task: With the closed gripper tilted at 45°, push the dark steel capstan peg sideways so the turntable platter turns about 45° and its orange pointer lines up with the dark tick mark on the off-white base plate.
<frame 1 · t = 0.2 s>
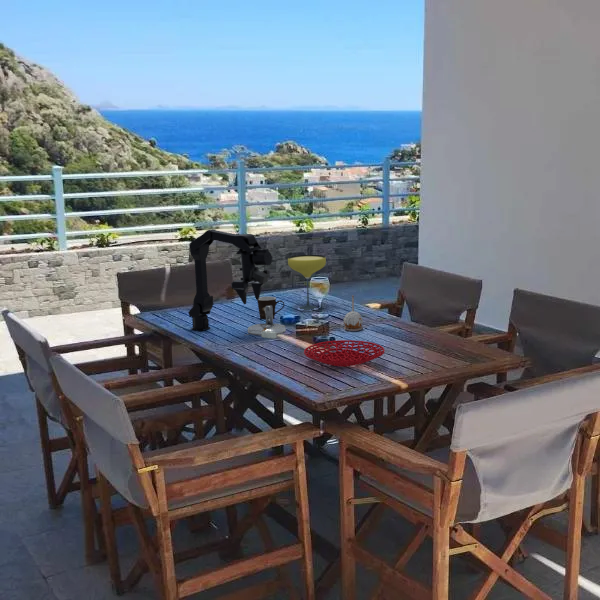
hand: (251, 301, 341), 15 cm above the table, tool pointing down, fingers open, 9 cm apart
coffee mug: (270, 320, 372), on the table
decorative ornament: (353, 330, 350), on the table
turntable platter: (266, 320, 346), point 6 cm above the table, hinge at 0.0°
bowl: (344, 364, 299), on the table
base plate: (266, 333, 347), on the table
cocktail glass: (308, 309, 394), on the table
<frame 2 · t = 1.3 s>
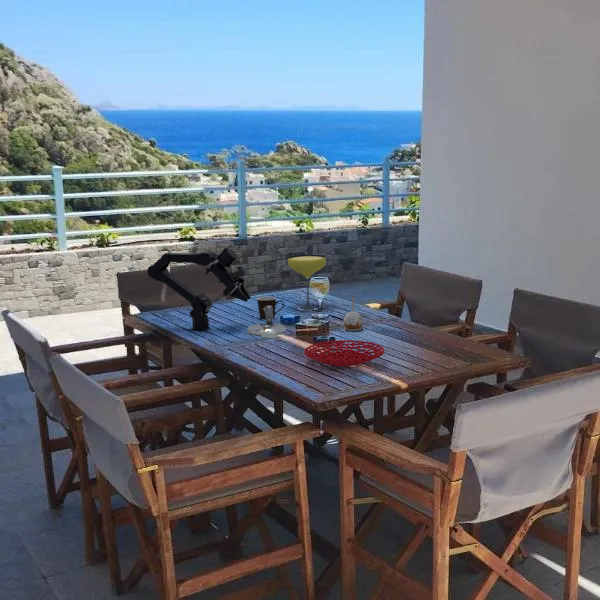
hand: (248, 299, 351), 14 cm above the table, tool tilted 45°, fingers open, 5 cm apart
nothing on the table moved.
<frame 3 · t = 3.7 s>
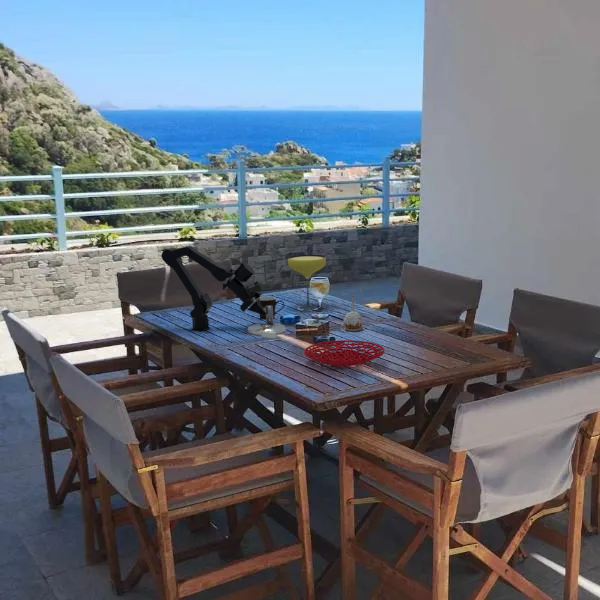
hand: (265, 314, 351), 7 cm above the table, tool tilted 45°, fingers closed
turntable platter: (266, 320, 346), point 6 cm above the table, hinge at -1.6°, touching gripper
everything else where it was.
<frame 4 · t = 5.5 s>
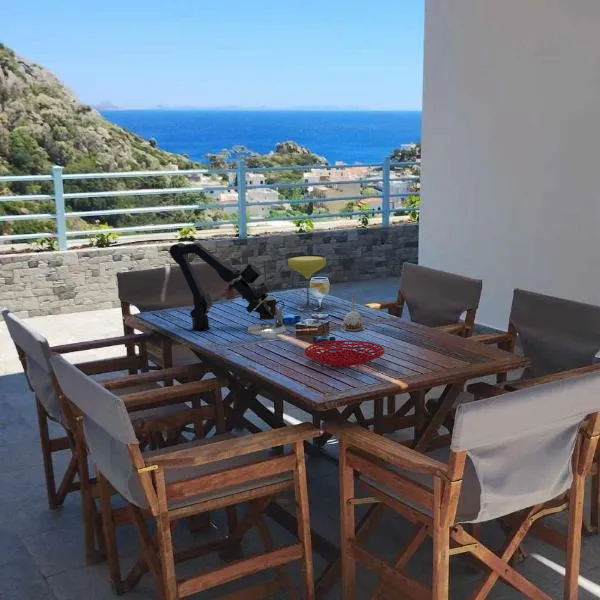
hand: (271, 316, 350), 6 cm above the table, tool tilted 45°, fingers closed
turntable platter: (266, 320, 346), point 6 cm above the table, hinge at -50.3°
everything else where it was.
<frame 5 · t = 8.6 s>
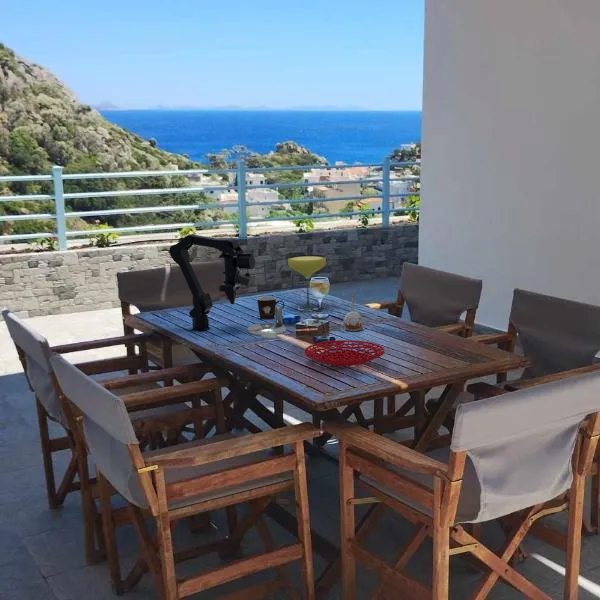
hand: (232, 304, 350), 12 cm above the table, tool pointing down, fingers closed
nothing on the table moved.
at the end: turntable platter at -50° (first picture: +0°); coffee mug moved 0.2 cm from its start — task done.
